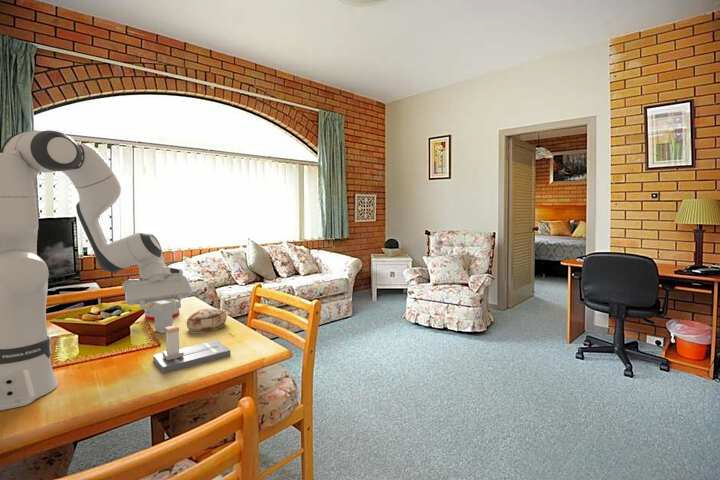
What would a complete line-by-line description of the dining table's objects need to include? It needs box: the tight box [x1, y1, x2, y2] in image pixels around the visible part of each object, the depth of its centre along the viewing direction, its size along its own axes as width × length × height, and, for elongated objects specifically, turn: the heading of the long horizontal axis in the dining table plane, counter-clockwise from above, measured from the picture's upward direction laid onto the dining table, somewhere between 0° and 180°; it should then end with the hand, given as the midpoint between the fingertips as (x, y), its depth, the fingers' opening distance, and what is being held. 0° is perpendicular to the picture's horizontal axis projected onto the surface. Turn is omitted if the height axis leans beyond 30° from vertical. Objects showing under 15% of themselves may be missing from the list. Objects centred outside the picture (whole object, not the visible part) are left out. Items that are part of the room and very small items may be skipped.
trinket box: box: [186, 307, 228, 334], centre depth 155 cm, size 13×15×8 cm
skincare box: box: [154, 300, 173, 334], centre depth 150 cm, size 6×4×12 cm
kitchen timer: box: [144, 299, 180, 322], centre depth 169 cm, size 14×14×15 cm
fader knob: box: [161, 325, 184, 360], centre depth 120 cm, size 5×5×10 cm
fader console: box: [152, 339, 231, 374], centre depth 125 cm, size 21×12×2 cm, turn 132°
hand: (163, 309), depth 126 cm, fingers open, 8 cm apart
